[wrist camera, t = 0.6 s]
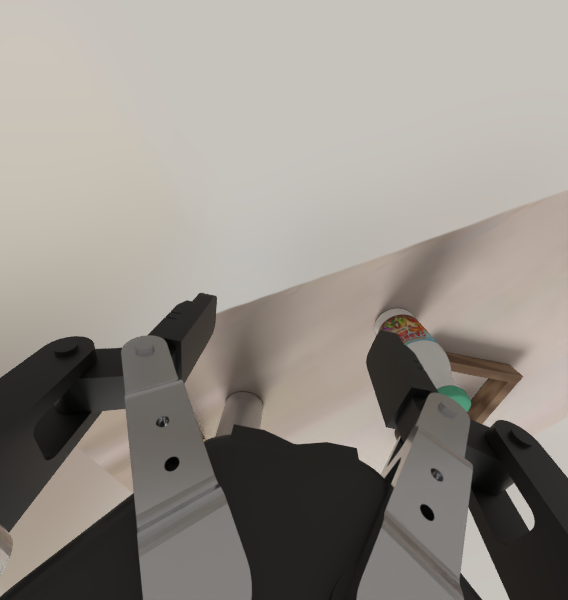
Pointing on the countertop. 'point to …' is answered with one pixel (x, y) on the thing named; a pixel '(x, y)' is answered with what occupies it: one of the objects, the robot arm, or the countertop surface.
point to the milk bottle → (424, 352)
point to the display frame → (486, 383)
